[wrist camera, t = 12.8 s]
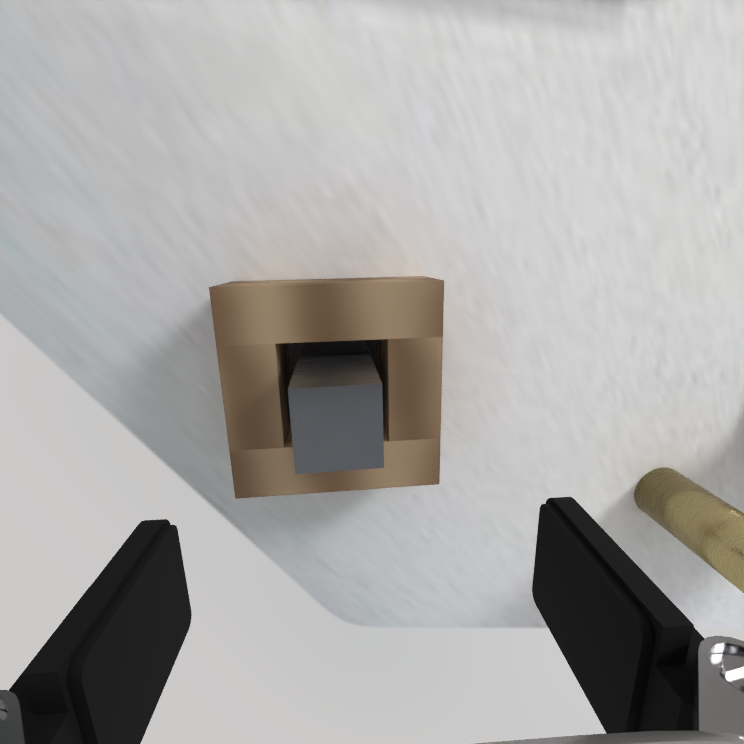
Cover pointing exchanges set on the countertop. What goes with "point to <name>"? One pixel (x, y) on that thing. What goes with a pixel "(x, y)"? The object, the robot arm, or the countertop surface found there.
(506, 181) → the countertop surface
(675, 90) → the countertop surface
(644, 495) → the round bit
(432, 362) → the bore block
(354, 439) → the square bit
